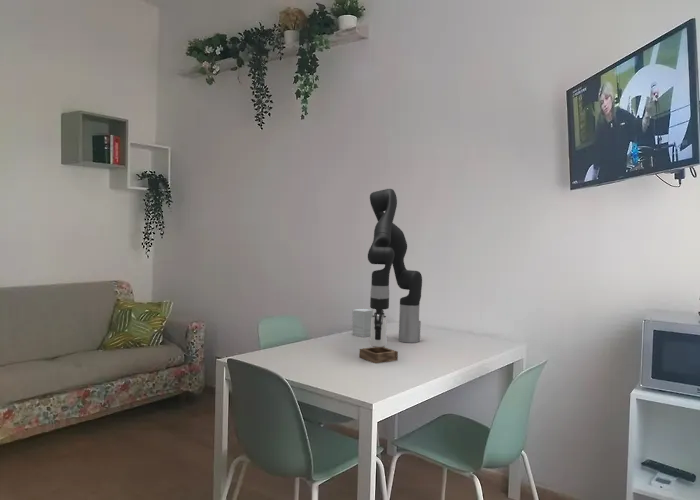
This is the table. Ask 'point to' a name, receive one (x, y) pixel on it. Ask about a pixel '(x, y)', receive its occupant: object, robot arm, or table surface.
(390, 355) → the tray
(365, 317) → the supplement box
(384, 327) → the can
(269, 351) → the table surface
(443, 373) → the table surface
